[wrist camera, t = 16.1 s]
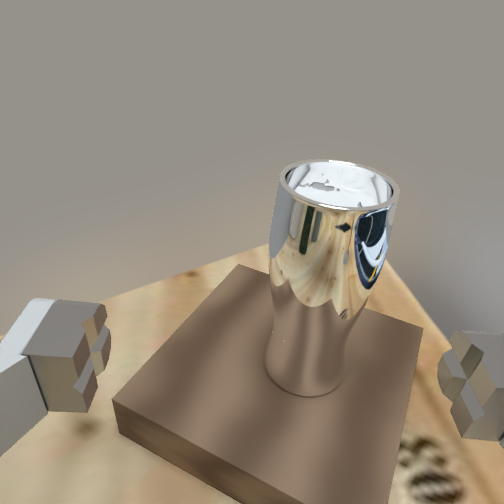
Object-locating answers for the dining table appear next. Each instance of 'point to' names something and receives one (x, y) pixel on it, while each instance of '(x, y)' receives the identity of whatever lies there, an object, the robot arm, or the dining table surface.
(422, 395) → the dining table surface
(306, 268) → the beer glass
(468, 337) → the robot arm
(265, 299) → the walnut base
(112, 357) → the dining table surface
